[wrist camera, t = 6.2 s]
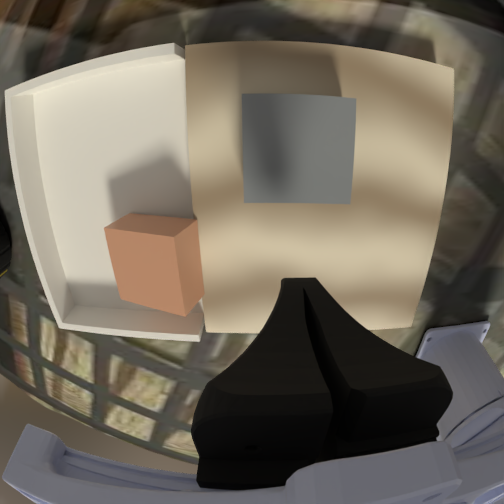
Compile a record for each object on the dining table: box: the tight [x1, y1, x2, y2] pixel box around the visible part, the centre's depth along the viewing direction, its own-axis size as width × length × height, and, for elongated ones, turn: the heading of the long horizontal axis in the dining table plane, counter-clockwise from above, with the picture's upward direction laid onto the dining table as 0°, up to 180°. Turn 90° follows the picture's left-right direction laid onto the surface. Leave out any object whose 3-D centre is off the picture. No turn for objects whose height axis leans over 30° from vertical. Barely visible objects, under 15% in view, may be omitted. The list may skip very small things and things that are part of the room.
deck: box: [185, 41, 454, 333], centre depth 18 cm, size 18×15×2 cm
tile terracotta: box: [104, 213, 205, 317], centre depth 18 cm, size 5×5×2 cm
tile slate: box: [242, 93, 356, 204], centre depth 14 cm, size 5×5×2 cm
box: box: [5, 43, 205, 342], centre depth 18 cm, size 18×12×3 cm, turn 1°
